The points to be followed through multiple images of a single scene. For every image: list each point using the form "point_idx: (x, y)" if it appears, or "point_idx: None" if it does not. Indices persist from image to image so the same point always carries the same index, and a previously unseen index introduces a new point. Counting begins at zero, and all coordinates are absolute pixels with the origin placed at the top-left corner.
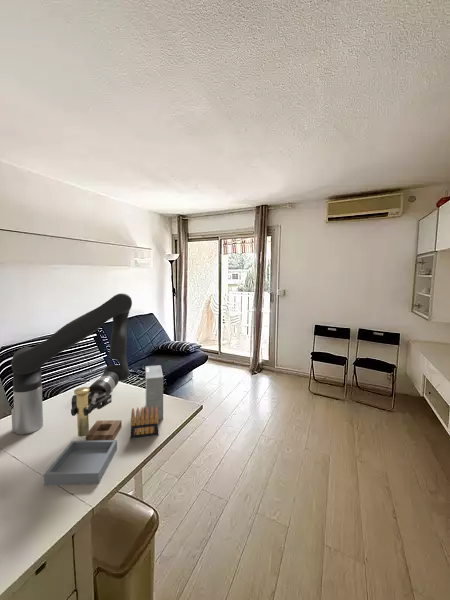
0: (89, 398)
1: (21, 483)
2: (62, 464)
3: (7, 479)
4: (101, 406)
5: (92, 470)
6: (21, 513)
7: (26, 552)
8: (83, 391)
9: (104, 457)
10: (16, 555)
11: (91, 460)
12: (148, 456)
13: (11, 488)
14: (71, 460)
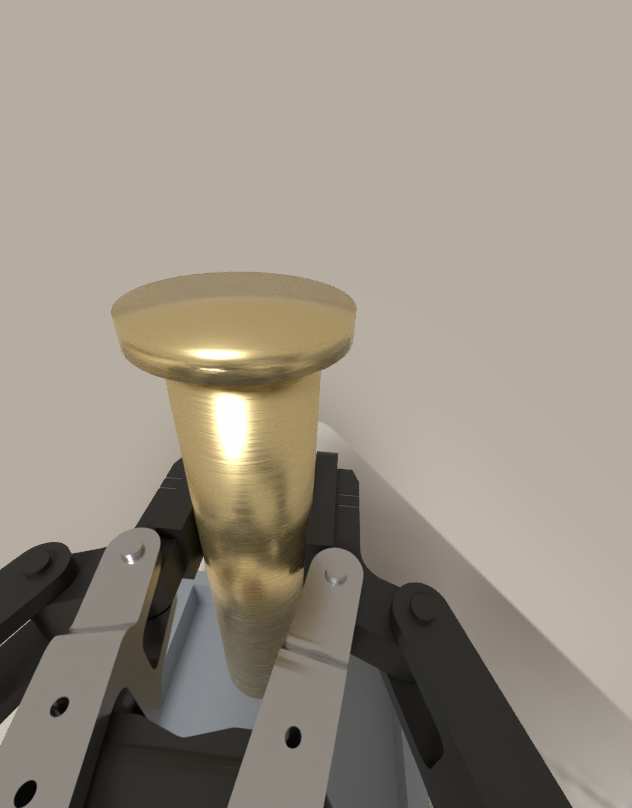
0: (183, 759)
1: (494, 642)
2: (387, 737)
3: (581, 679)
4: (32, 625)
5: (220, 658)
6: (388, 519)
7: (316, 445)
8: (210, 282)
9: None
10: (330, 444)
11: None
12: None
13: (507, 619)
14: (353, 776)
